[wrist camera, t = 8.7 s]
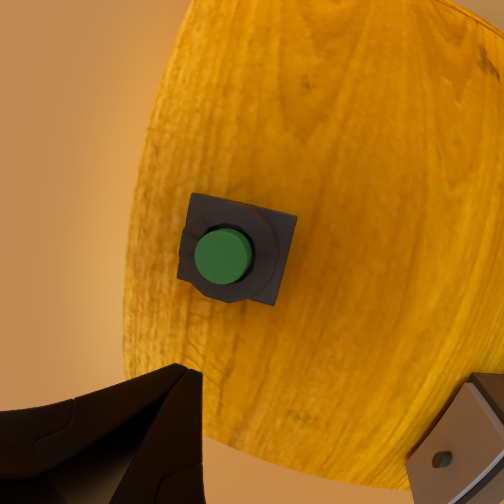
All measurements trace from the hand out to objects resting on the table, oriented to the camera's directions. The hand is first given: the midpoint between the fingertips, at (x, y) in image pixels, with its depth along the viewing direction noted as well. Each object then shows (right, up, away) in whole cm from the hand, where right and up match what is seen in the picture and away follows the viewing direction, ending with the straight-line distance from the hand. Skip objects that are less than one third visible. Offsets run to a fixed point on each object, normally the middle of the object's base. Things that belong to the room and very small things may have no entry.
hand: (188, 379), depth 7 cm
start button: (0, +3, +10) cm, 10 cm away
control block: (+1, +4, +12) cm, 12 cm away
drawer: (+23, -14, +10) cm, 29 cm away
